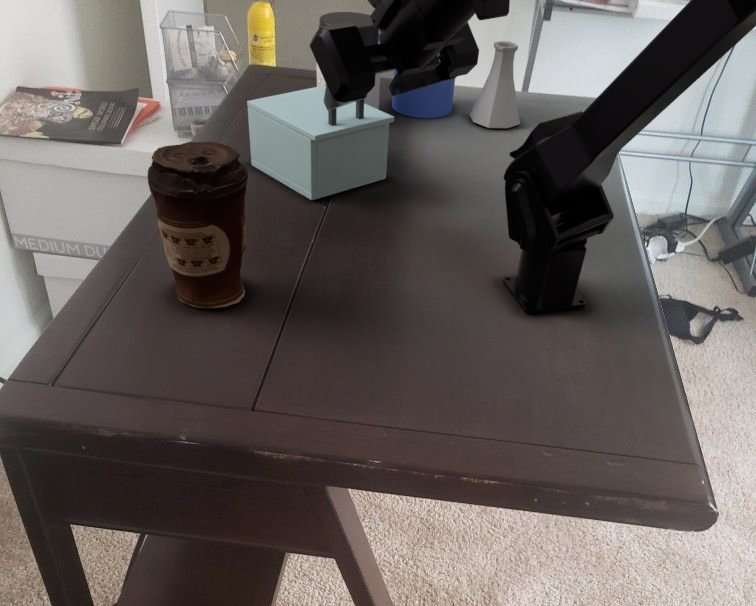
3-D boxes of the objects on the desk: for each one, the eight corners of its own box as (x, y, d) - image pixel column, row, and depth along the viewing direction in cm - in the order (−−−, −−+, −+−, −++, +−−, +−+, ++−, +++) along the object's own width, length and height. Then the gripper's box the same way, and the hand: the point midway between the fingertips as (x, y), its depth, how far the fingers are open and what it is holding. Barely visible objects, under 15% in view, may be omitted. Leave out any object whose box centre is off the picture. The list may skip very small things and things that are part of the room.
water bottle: (437, 95, 116) (458, -111, 98) (462, 116, 110) (489, -100, 92) (382, 99, 114) (392, -112, 96) (404, 120, 108) (420, -101, 90)
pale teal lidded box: (386, 178, 92) (389, 120, 88) (311, 200, 87) (310, 139, 82) (324, 146, 99) (324, 90, 94) (251, 165, 93) (247, 106, 88)
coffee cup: (237, 325, 67) (223, 180, 58) (151, 311, 68) (123, 166, 59) (266, 279, 74) (258, 141, 64) (187, 267, 74) (167, 129, 65)
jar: (309, 108, 109) (307, 12, 101) (358, 102, 112) (361, 9, 104) (335, 129, 104) (336, 29, 95) (386, 122, 107) (392, 25, 98)
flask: (460, 115, 110) (470, 38, 103) (502, 111, 113) (514, 35, 106) (485, 132, 106) (497, 53, 99) (528, 127, 108) (542, 49, 101)
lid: (394, 122, 87) (396, 84, 84) (315, 141, 82) (314, 102, 79) (324, 90, 94) (324, 54, 91) (247, 106, 88) (244, 68, 86)
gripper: (476, -91, 72) (392, 16, 85) (321, -81, 62) (256, 37, 76) (521, 23, 73) (432, 110, 87) (377, 49, 64) (303, 142, 78)
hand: (359, 98), depth 82 cm, fingers open, 9 cm apart
